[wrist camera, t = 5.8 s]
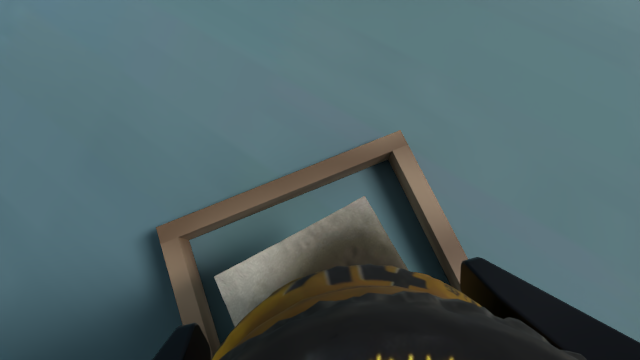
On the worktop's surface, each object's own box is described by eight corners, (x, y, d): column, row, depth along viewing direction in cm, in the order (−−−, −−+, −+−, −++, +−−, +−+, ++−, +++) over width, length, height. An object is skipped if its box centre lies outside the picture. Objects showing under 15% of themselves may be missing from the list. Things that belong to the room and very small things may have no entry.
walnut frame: (533, 408, 17) (552, 420, 16) (257, 544, 16) (250, 570, 15) (395, 139, 22) (400, 130, 20) (168, 231, 20) (156, 227, 19)
